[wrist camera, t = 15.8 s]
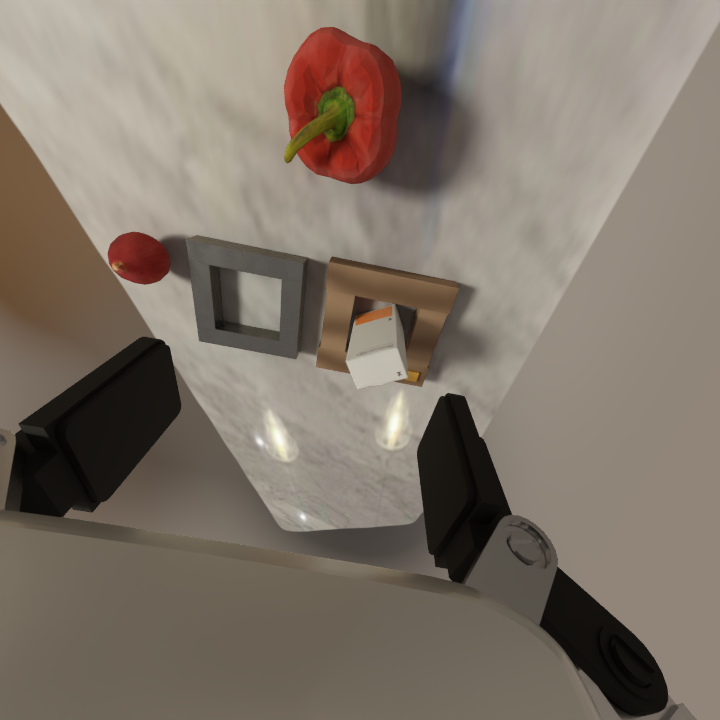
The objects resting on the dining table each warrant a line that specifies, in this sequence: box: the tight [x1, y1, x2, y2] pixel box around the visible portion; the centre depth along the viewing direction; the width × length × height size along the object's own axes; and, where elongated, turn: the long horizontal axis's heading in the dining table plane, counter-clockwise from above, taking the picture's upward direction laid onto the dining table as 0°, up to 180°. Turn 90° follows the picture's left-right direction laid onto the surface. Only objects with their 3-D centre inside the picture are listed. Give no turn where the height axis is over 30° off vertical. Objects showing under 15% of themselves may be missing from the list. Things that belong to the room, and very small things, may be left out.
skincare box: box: [346, 304, 409, 389], centre depth 37 cm, size 6×4×12 cm
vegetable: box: [284, 27, 402, 184], centre depth 26 cm, size 11×10×10 cm
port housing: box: [316, 257, 459, 387], centre depth 41 cm, size 16×16×3 cm
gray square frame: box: [185, 235, 308, 359], centre depth 40 cm, size 14×14×2 cm
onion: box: [108, 232, 171, 284], centre depth 35 cm, size 6×6×8 cm
